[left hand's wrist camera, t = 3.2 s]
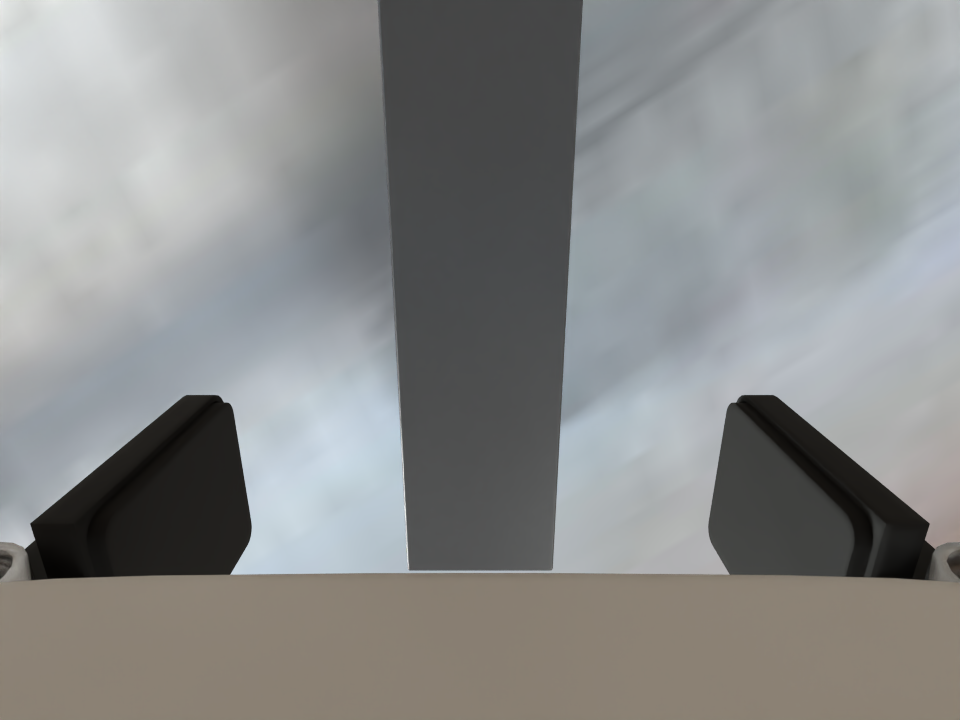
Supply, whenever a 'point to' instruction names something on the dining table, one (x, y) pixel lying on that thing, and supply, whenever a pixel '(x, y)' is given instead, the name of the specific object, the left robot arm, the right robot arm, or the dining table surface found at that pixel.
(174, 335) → the dining table surface
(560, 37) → the beam
